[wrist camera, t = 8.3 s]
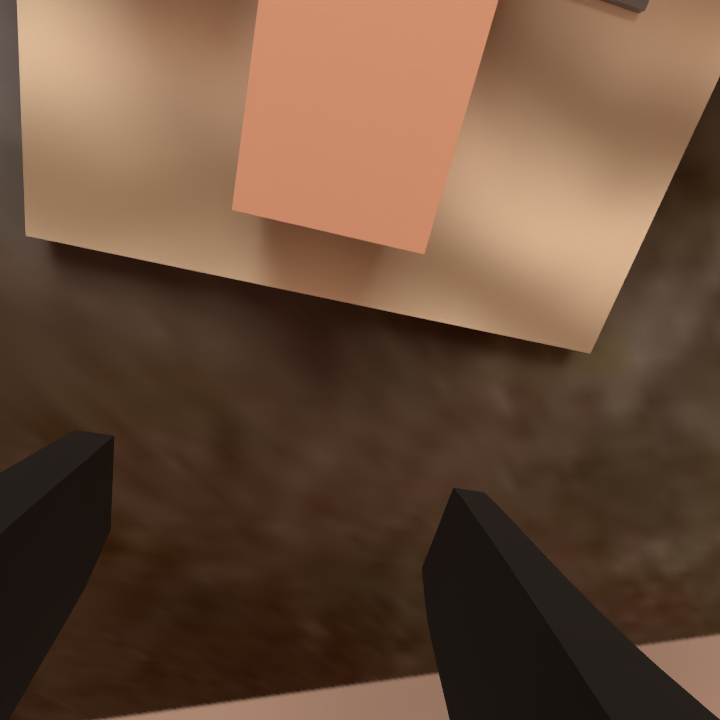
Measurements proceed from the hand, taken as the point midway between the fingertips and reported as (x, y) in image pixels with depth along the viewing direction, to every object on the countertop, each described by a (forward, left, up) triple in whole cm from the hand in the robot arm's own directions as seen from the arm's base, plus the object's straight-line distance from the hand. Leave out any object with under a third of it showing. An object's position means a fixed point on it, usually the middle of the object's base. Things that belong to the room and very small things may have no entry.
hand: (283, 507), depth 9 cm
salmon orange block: (+8, 0, -8) cm, 11 cm away
